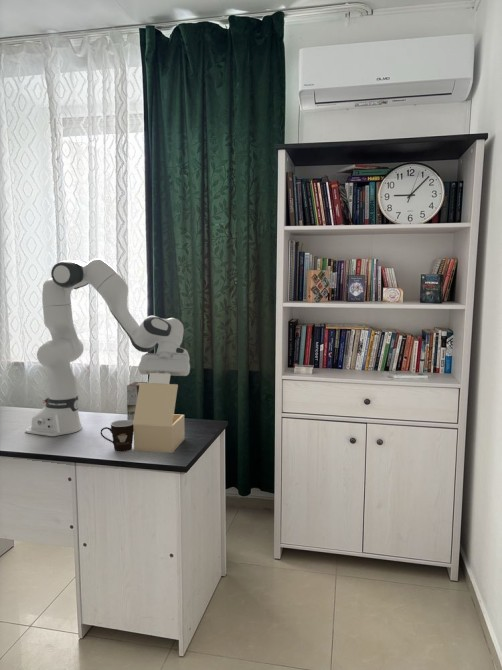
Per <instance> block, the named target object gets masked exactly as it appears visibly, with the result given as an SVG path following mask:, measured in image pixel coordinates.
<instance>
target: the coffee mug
mask: <svg viewBox="0 0 502 670" xmlns="http://www.w3.org/2000/svg"><path fill="white" fill-rule="evenodd" d="M104 430H108V431H109V432H110V433H111V435H112V440H111V439H110V438H108V437H106V436H104V435H103V431H104ZM100 436H101V437H102V438H104V440H107V441H109V443H111V444H112V445H113V448H114V449H113V450H114V451H115V452H118V453H124V452H129V451H131V450H132V448H133V442H134V430H133V420H127V419H120V420H115V421H112V422H110V427H107V426H105V427H103V428H101V430H100Z"/></svg>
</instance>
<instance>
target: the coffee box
mask: <svg viewBox="0 0 502 670" xmlns="http://www.w3.org/2000/svg"><path fill="white" fill-rule="evenodd" d="M140 383H148V382H146V381H133V382H131V383H130V384H128V385H126V418H127V419H126V420H131V421H133V420H134V414H135V408H136V403H137V397H138V391H139V385H140Z"/></svg>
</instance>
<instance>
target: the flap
mask: <svg viewBox="0 0 502 670" xmlns="http://www.w3.org/2000/svg"><path fill="white" fill-rule="evenodd" d="M171 376H172V375H171V374H163V373H150V375H148V377H149V378H148V382H147V383H140V385H139V391H138V397H137V403H136V408H135V414H134V420H132V421H133V424H136V425H155V426H172V424H173V417H174V414H175V409H176V404H177V403H176V401H177V396H178V395H177V394H178V389H179V385H178V383H177V384H176V383H173V384H172V383H170V381H171Z"/></svg>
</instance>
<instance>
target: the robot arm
mask: <svg viewBox="0 0 502 670" xmlns="http://www.w3.org/2000/svg"><path fill="white" fill-rule="evenodd" d="M50 273H51V274H50V275H51V278H49V279H46V280H45V281H44V282H43V285H42V294H41V295H42V296H41V298H42V301H41V302H42V311H43V313H42V314H43V323H44V325H45V327H46V329H47V330H48V331H49V333H50V335H51V340H48V341H46V342H44V343H43V344H41V346H40V347H39V348H38V349H37V353H36V359H37V360H38V363H39V364H41V366H42V367H43V368H44V371H45V374H46V377H47V378H46V379H47V385H48V397H47V398H45V399H44V400H43V401H42V403H43V404H45V406H43V408H41V409H40V410H38V412H36V413H35V414H34V415H33V416H32V419H31V423H30V424H31V425H29V426H27V427H26V429H25V433H28V434H32V435H33V434H34V435H41V436H49V437H56V436H57V437H58V436H61V435H68V434H69V435H70V434H72V433H76V432H79V431H80V430H82V429H83V426H82V422H81V419H80V414H79V395H78V389H77V388H78V383H77V377H76V376H75V375H74V373H73V371H72V367H71V363H72V362H74V361H76V360H78V358H80V357H81V356H82V354H83V353H84V344H83V342H82V341H81V340H80V338H79V336H78V334H77V331H76V328H75V325H74V319H73V318H74V317H73V310H72V309H73V308H72V300H71V296H72V295H71V294H72V291H73V290H78V289H80V288H83V287H85V286H87V285H91V286H92V287H93V288H94V290H95V291H96V292H97V293H98V294H99V295H100V296H101V298H102V299H103V301H105V304H106V306H107V307H108V309H109V312H110V313H111V315H112V316H113V317H114V319H115V320H116V322H117V323H118V324H119V326H120V327H121V328H122V329H123V331H124V332H125V333H126V335H127V336H128V338H129V340H130V343H131V345H132V346H133V348H134V349H136V350H137V351H139V352H142V353H144V354H142V355H141V356H140V357H141V358H140V361H139V364H138V366H137V370H138V373H140V375H145V376H147V375H148V376H150V373H163V374H171V376H174V377H175V376H177V377H178V376H179V377H181V376H182V377H186V376H189V374H190V373H191V372H190V371H191V364H190V359H191V358H190V355H189V352H188V350H187V349H186V348H183V347H181V345H182V343H183V339H184V338H183V337H184V329H185V328H184V325H183V322H181V321H180V320H179V319H178V318H175V317H170V318H161V317H159V316H158V315H157V316H156V315H148V316H147V317H145V318H144V319H143V320H142V322H141V323H140V324H139V323H138V322H137V321H136V319H135V317H134V316H132V314H131V313H130V311H129V308H128V295H129V285H128V284H127V282H126V281H125V279H124V278H123V277H122V276H121V275H120V274H119V273H118V271H116V270H115V269H114V268H113V266H111V264H108V263H107V262H106V261H104V259H101V258H93V259H90V261H88V262H86V261H82V260H75V259H70V260H62V261H59V262H57V263H56V264H54V265H53V266H52V269H51V271H50ZM156 345H158V346H157V350H156V353H151V351H153V350H154V349H155V347H156ZM149 352H150V353H149Z"/></svg>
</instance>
